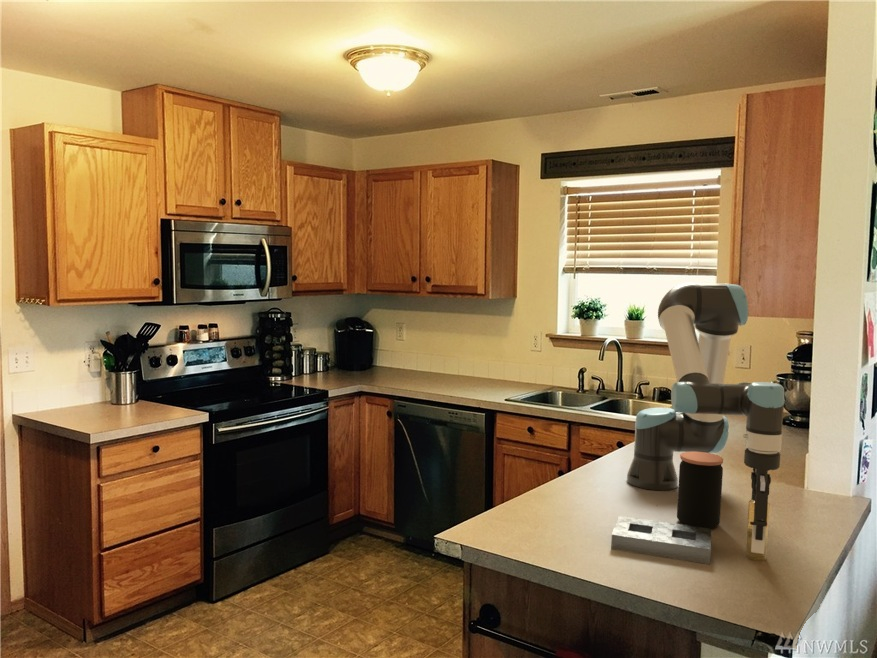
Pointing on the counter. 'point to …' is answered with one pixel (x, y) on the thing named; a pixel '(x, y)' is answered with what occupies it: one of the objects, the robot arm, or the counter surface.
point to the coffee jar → (700, 489)
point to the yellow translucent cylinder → (749, 534)
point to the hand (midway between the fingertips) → (756, 545)
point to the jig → (662, 539)
